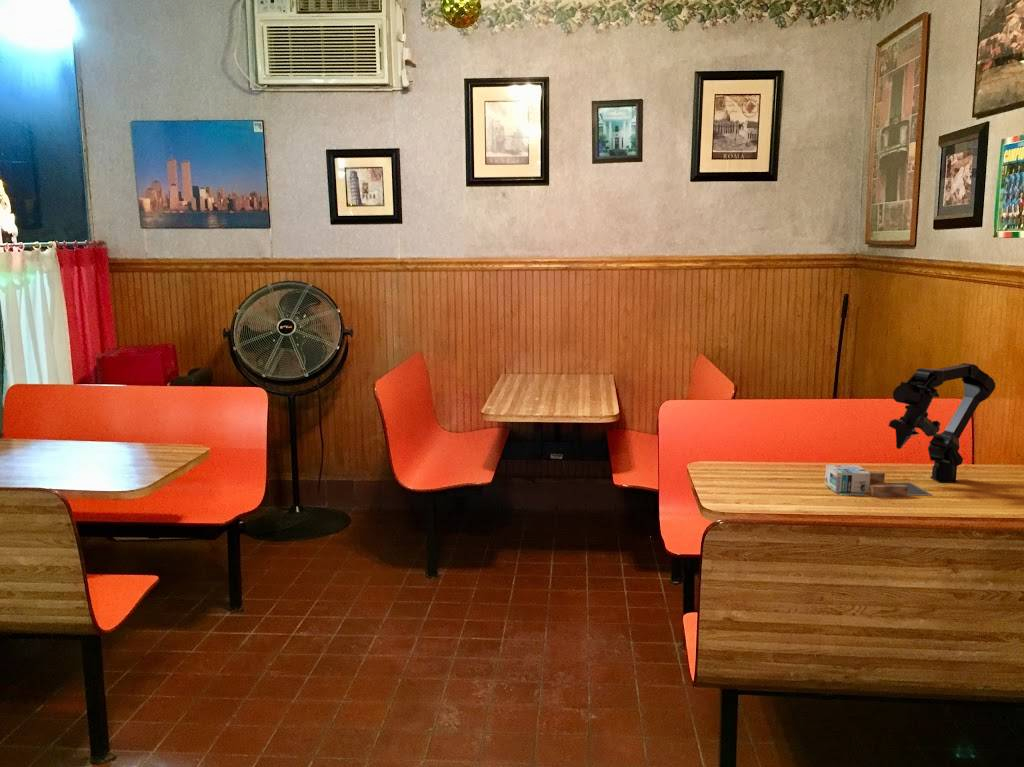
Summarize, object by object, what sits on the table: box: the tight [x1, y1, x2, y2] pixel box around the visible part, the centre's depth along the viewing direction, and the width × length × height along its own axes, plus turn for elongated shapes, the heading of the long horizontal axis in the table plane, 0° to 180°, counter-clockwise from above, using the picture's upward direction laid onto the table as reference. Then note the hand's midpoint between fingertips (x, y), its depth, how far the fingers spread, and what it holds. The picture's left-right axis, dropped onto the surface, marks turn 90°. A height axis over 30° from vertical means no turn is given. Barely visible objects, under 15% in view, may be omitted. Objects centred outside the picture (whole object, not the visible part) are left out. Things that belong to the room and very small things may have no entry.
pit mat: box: [887, 482, 933, 496], centre depth 275 cm, size 8×14×1 cm, turn 1°
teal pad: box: [836, 492, 867, 497], centre depth 275 cm, size 8×13×1 cm, turn 2°
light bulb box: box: [824, 464, 871, 494], centre depth 274 cm, size 11×7×11 cm
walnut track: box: [868, 471, 908, 498], centre depth 275 cm, size 11×18×4 cm, turn 2°
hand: (898, 448), depth 282 cm, fingers closed
